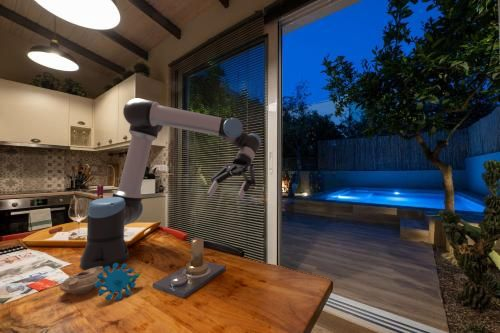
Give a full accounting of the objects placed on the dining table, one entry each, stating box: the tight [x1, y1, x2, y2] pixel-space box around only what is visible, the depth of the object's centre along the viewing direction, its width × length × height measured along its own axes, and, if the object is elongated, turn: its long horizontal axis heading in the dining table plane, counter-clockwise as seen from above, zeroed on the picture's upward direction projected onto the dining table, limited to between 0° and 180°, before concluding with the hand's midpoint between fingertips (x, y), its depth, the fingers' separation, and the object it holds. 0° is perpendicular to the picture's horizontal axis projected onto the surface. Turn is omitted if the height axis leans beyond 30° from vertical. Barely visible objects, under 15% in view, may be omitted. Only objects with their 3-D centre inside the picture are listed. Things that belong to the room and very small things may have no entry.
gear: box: [94, 262, 141, 301], centre depth 61 cm, size 11×6×10 cm
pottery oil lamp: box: [59, 266, 105, 296], centre depth 63 cm, size 9×12×7 cm
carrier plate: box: [152, 261, 227, 299], centre depth 69 cm, size 12×20×2 cm, turn 153°
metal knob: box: [185, 237, 208, 276], centre depth 71 cm, size 7×7×10 cm
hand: (223, 196), depth 82 cm, fingers open, 13 cm apart
